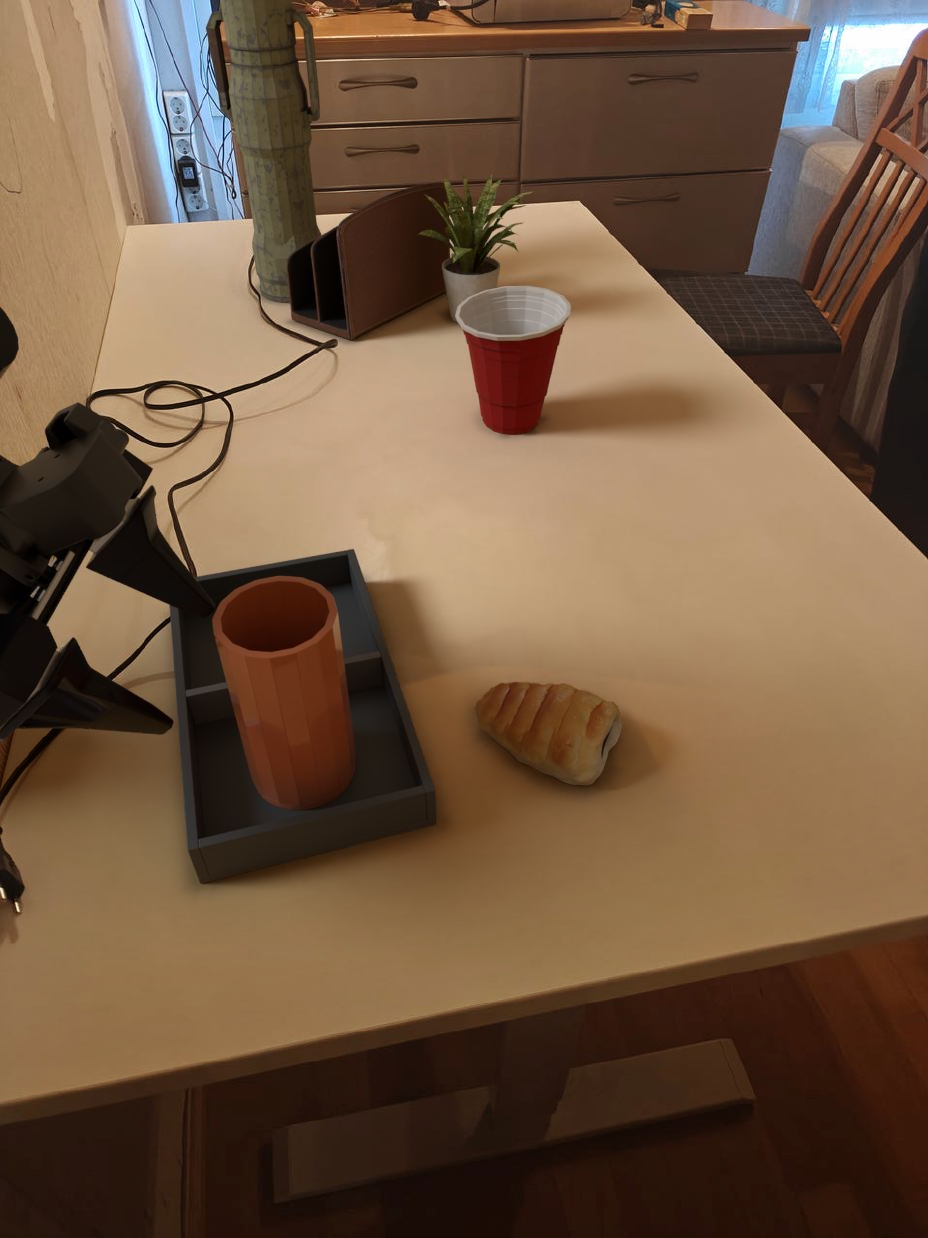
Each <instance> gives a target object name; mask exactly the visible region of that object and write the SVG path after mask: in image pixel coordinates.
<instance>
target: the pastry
mask: <svg viewBox="0 0 928 1238" xmlns="http://www.w3.org/2000/svg"><path fill="white" fill-rule="evenodd" d="M474 712H475V713H474V714H475V716H476V718H477V722H478V725H479V728H480V729H481V731H483V732H484V733H485V734H486V735H488V736H489V737H490V739H493V740H495V742H496V743H497V744H498V745H499V746H500V747H503V748H504V749H506V750H507V751H508V752H509V753H510V754H511V755H512V757H513V758H514V759H516V760H517V762H519V763H521V764H526V765H527V766H529V767H530V768H532V769H534V770H536V771H539V772H541V773H543V774H544V775H550V776H551V777H554V778H555V779H557V780H558V781H561V782H563V783H566V784H568V785H573V786H591V785H593V784H594V783H595V782H596V780H597V779H598V778H599V777H600V776H601V775H602V773H603V771H604V769H605V767H606V761H607V760H608V756H609V751H610V750H611V749H612V748H613V747H614V746H615V745H616V744H617V742H618V741H619V738H620V735H621V733H622V727H623V724H622V713H621V710H620V708H619V706H618V705H617V703H616V702H615V701H613V700H606V699H604V698H602V697H600V696H599V695H597V694H594V693H592V692H590V691H588V690H585V689H579V688H578V689H577V688H576V687H574V686H572V685H570V684H569V683H551V682H548V683H544V684H543V683H539V682H538V683H537V682H529V681H521V682H519V681H512V682H507V683H506V682H500V683H498V684H496V685H494V686H493V687H491V688H489V690H487V691H486V693H484V695H483V696H482V697H481V698H480V699H478V700H477V701H476V702H475V705H474Z"/></svg>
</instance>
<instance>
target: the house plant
mask: <svg viewBox="0 0 928 1238" xmlns="http://www.w3.org/2000/svg"><path fill="white" fill-rule="evenodd" d="M493 173H494V172H493V171H492V172H491V173H490V175H489V177H488V179H487V180H486V182H485V185H484V187H483V190H482V192H481V194H480V196H479V198H478V200H477V203H476V206H475V208H474V204H473V196H472V193H471V190H470V187H469V183H468V179H467V176H466V175H465V173H464V172H462V184H463V192H464V198H462V196H460V195H459V194H458V192H457V191H456V190H455V189H454V187H453V186H452V183H451V182H450V180H448V179H447V178H445V176H443V177H442V180H443V184H444V185H445V188H446V193H447V197H448V201H449V206H448V205H447V204H446V203H445V202H444V204H445V207H446V210H447V212H448V214H449V216H448V215H447V213H446V212H445V210H444V209H443V208H442V207H441V206H440V205H439V204H438V203H437V202H436V201H435V200H434V199H433V198H431V197H429V196H427V195H426V194H425V196H426V197H427V198H428V199H429V200H430V201H431V202H432V203H433V205H434V206H435V208H436V209H437V211H438V212H439V213H440V214H441V215H442V217H443V218H444V220H445V221H446V223H447V225H448V227H446V228H445V229H444V230H445V233H446V234H447V236H448V237H449V239H450V241H449V240H447V239H446V238H445V237H444V236H443V235H441V234H440V233H438V232H436V231H433V230H424V231H422V232H420V233H419V234H420V235H425V236H429V237H433V238H436V239H439V240H441V241H443V242H445V243H446V244H447V245H448V246H449V247H450V250H451V251H452V252H453V253H450V258H448V259H446V260H445V261H444V262H443V263H442V271H443V277H444V282H445V288H446V292H445V293H446V298H447V305H448V309H449V315H450V318H451V319H452V320H453V322H457V323H458V321H457V320H456V317H455V315H456V311H457V307H458V306H459V305H460V304H461V303H462V302H463V301H465V300H466V299H467V298H468V297H470V296H473V295H475V294H477V293H480V292H482V291H485V290H489V289H494V288H498V281H499V277H500V271H501V263H500V262H499V261H498V260H497V259H495V258H493V257H491V256H492V255H493V254H494V253H496V252H497V251H498V250H499V249H501V247H502V246H503V245H506V246H509V247H511V248H513V249H514V250H515V251H517V252H519V250H518V247H517V245H516V244H517V243H516V242H513V241H511V240H508V239H505V238H508V237H511V236H513V235H518V236H519V234H518V233H516V232H514V231H513V230H512V228H514V227H516V226H518V225H522V224H523V222H515V223H512V224H510V225H508V226H505V225H503V224H500V223H499V222H500V221H501V220H505V218H503V217H504V215H506V213H507V212H509V211H511V210H517V209H521V208H523V207H526V206H527V204H523V203H525V202H526V200H518V199H520V198H522V197H523V196H526V195H529V194H532V193H534V192H537V191H539V189H538V190H532V191H531V190H530V191H526V192H523V193H519V194H517V195H515V196H513V197H511V198H510V199H508V200H507V201H505V203H503V204H502V205H501V206H500V207H498V208H497V209H496V210H495V211H493V212H491V213H490V211H491V210H492V207H493V205H494V203H495V201H496V195H497V190H498V188H499V186H500V184H501V181H502V179H499V180H496V181H495V182H494V183H493ZM492 183H493V184H492ZM493 222H494V223H493ZM492 223H493V224H492ZM501 228H502V229H503V228H504V229H503V230H501V231H499V232H497V233H496V234H494V235H493V236H492V237H491V235H492V234H493V232H495V231H496V230H498V229H501ZM496 244H501V245H499V246H498V247H496V249H494V251H492V249H493V248H494V247H495V245H496ZM491 251H492V252H491ZM490 252H491V253H490ZM489 254H490V255H489Z"/></svg>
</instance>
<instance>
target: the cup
mask: <svg viewBox="0 0 928 1238" xmlns="http://www.w3.org/2000/svg"><path fill="white" fill-rule="evenodd" d="M212 621H213V630H214V636H215V640H216V644H217V648H218V652H219V655H220V659H221V663H222V667H223V671H224V674H225V678H226V682H227V686H228V690H229V694H230V697H231V701H232V705H233V709H234V713H235V717H236V720H237V724H238V728H239V732H240V736H241V739H242V743H243V747H244V751H245V755H246V759H247V762H248V766H249V770H250V774H251V778H252V781H253V783H254V785H255V788H256V790H257V791H258V793H259V794H260V795H261V796H262V797H263V798H264V799H265V800H266V801H267V802H269V803H271V804H273V805H275V806H277V807H280V808H284V809H289V810H307V809H312V808H316V807H319V806H322V805H324V804H327V803H329V802H330V801H332V800H334V799H335V798H337V797H338V796H339V795H340V794H342V793H343V792H344V791H345V789H346V788H347V787H348V786H349V784H350V783H351V781H352V779H353V777H354V774H355V770H356V750H355V742H354V734H353V727H352V719H351V711H350V703H349V695H348V688H347V680H346V672H345V664H344V657H343V649H342V641H341V633H340V625H339V618H338V610H337V607H336V603H335V600H334V597H333V595H332V594H330V593H329V592H328V591H327V590H326V589H325V588H324V587H323V586H322V585H320V584H318V583H316V582H313V581H310V580H308V579H305V578H302V577H290V576H275V577H270V578H264V579H258V580H255V581H253V582H250V583H248V584H246V585H244V586H241V587H239V588H237V589H235V590H234V591H233V592H232V593H230V594H229V595H228V596H227V597H226V598H225V599H223V600H222V601H221V602H220V604H219V606H218V608H217V610H216V612H215V614H214V616H213V619H212Z"/></svg>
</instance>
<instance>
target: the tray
mask: <svg viewBox="0 0 928 1238" xmlns="http://www.w3.org/2000/svg"><path fill="white" fill-rule="evenodd" d="M275 576H290V577H302V578H305V579H308V580H310V581H313V582H316V583H318V584H320V585H322V586H323V587H324V588H325V589H326V590H327V591H328V592H329V593H330V594H332V595H333V597H334V600H335V603H336V607H337V610H338V618H339V625H340V633H341V641H342V649H343V657H344V664H345V672H346V680H347V688H348V695H349V703H350V711H351V719H352V727H353V734H354V742H355V750H356V770H355V774H354V777H353V779H352V781H351V783H350V784H349V786H348V787H347V788H346V789H345V791H344V792H343V793H342V794H340V795H339V796H338V797H337V798H335V799H334V800H332V801H330V802H329V803H327V804H324V805H322V806H319V807H316V808H312V809H307V810H289V809H284V808H280V807H277V806H275V805H273V804H271V803H269V802H267V801H266V800H265V799H264V798H263V797H262V796H261V795H260V794H259V793H258V791H257V790H256V788H255V785H254V783H253V781H252V778H251V774H250V770H249V766H248V762H247V759H246V755H245V751H244V747H243V743H242V739H241V736H240V732H239V728H238V724H237V720H236V717H235V713H234V709H233V705H232V701H231V697H230V694H229V690H228V686H227V682H226V678H225V674H224V671H223V667H222V663H221V659H220V655H219V652H218V648H217V644H216V640H215V636H214V630H213V621H212V619H213V616H214V614H215V612H216V610H217V608H218V606H219V604H220V602H221V601H222V600H223V599H225V598H226V597H227V596H228V595H229V594H230V593H232V592H233V591H234V590H235V589H237V588H239V587H241V586H244V585H246V584H248V583H250V582H253V581H255V580H258V579H264V578H270V577H275ZM194 578H195V579H196V580H197V582H198V583H199V584H200V585H201V587H202V588H203V589H204V590H205V592H206V593H207V594H208V596H209V597H210V598H211V599H212V601H213V602H214V603H215V609H214V611H213V612H212V613H211V614H210V615H209V616H208V617H205V618H204V617H200V616H197V615H195V614H192V613H189V612H186V611H183V610H180V609H178V608H175V607H173V606H171V605H169V615H170V631H171V642H172V643H171V644H172V657H173V671H174V685H175V697H176V711H177V712H176V713H177V726H178V737H179V739H178V740H179V750H180V764H181V779H182V792H183V794H182V795H183V803H184V804H183V805H184V806H183V807H184V818H185V819H184V820H185V833H186V846H187V848H186V849H187V852H188V855H189V857H190V860H191V861H190V862H191V864H192V866H193V868H194V871H195V874H196V876H197V879H198V881H199V884H206V883H208V882H213V881H218V880H221V879H225V878H229V877H234V876H236V875H242V874H245V873H250V872H253V871H257V870H260V869H265V868H269V867H274V866H276V865H281V864H285V863H288V862H292V861H296V860H297V861H298V860H300V859H304V858H308V857H313V856H316V855H321V854H324V853H328V852H331V851H336V850H340V849H344V848H348V847H353V846H356V845H359V844H363V843H368V842H372V841H377V840H380V839H384V838H388V837H392V836H396V835H400V834H404V833H408V832H411V831H416V830H419V829H424V828H427V827H431V826H435V825H437V824H438V821H437V819H438V818H437V791H436V787H435V784H434V781H433V778H432V775H431V772H430V769H429V765H428V763H427V761H426V758H425V755H424V751H423V749H422V746H421V742H420V740H419V737H418V733H417V730H416V728H415V726H414V722H413V719H412V717H411V713H410V711H409V708H408V704H407V702H406V699H405V696H404V693H403V690H402V687H401V684H400V680H399V678H398V675H397V671H396V669H395V666H394V663H393V660H392V657H391V654H390V651H389V648H388V646H387V642H386V639H385V637H384V636H385V635H384V633H383V631H382V628H381V625H380V622H379V620H378V616H377V613H376V610H375V607H374V604H373V601H372V597H371V595H370V592H369V589H368V586H367V584H366V580H365V577H364V575H363V572H362V568H361V565H360V563H359V560H358V556H357V554H356V550H355V549H354V548H351V549H347V550H339V551H334V552H329V553H323V554H316V555H311V556H305V557H300V558H293V559H288V560H283V561H276V562H271V563H265V564H259V565H254V566H249V567H244V568H243V567H242V568H238V569H233V570H225V571H220V572H215V573H210V574H203V575H199V576H194Z"/></svg>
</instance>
